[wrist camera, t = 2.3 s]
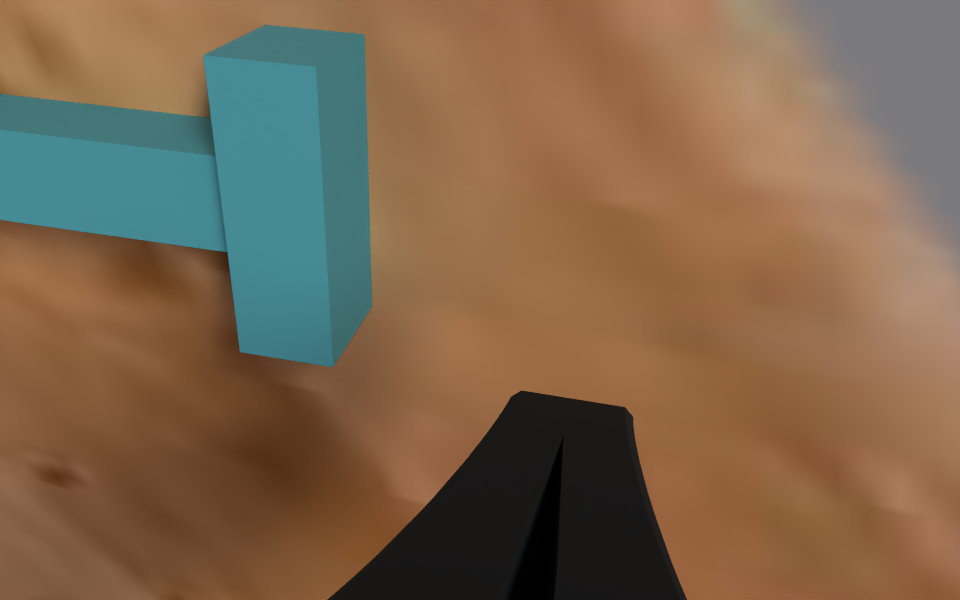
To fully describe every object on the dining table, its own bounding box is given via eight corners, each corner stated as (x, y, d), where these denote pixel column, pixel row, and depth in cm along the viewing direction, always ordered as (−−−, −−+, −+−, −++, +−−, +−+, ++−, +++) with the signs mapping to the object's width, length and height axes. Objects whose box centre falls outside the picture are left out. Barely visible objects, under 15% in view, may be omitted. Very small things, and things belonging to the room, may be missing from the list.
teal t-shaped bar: (372, 305, 19) (333, 366, 17) (18, 253, 20) (-60, 303, 18) (365, 33, 16) (316, 66, 14) (-51, -6, 17) (-154, 18, 15)
